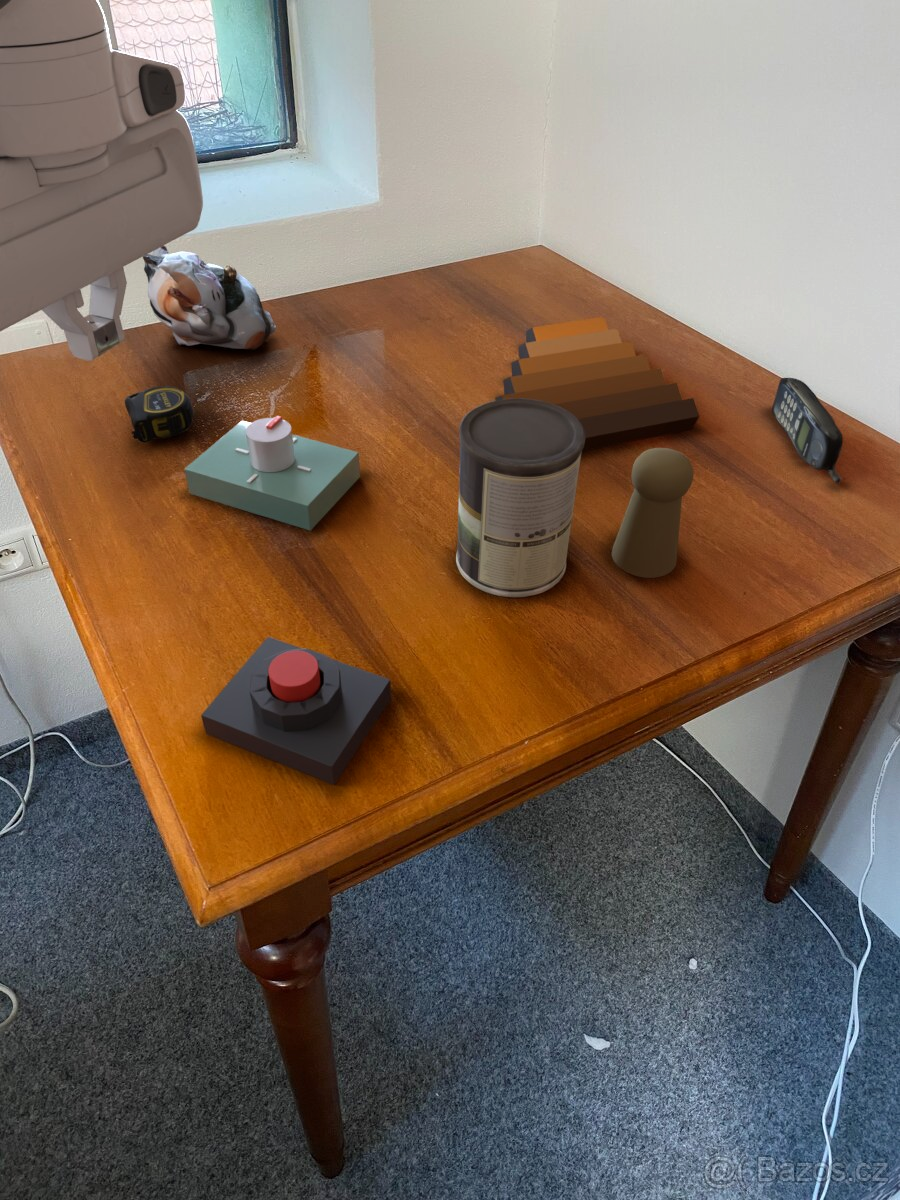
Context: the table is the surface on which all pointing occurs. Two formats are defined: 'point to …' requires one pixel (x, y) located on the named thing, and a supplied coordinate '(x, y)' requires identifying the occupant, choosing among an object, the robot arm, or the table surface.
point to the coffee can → (516, 495)
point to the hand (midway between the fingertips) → (99, 350)
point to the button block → (299, 713)
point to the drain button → (294, 676)
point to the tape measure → (159, 413)
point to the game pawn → (653, 514)
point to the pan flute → (598, 383)
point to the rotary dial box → (275, 479)
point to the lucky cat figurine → (205, 301)
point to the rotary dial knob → (270, 444)
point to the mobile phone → (808, 425)
